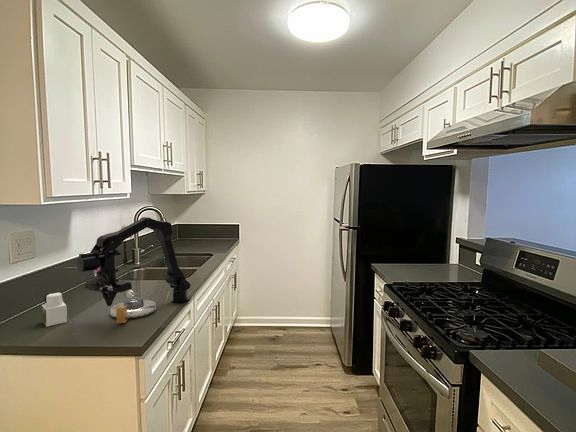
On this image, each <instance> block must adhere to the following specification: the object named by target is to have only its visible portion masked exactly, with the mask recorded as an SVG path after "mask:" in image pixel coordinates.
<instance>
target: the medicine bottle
mask: <svg viewBox="0 0 576 432" xmlns="http://www.w3.org/2000/svg"><path fill="white" fill-rule="evenodd" d="M63 295H64V294H63V292H61V291H51V292H47V293H46V294H45V295H44V297H43V298H44V304H41V315H42V323H43V325H44V326H45V327H47V328H48V327H51V326H56V325H59V324H60V325H61V324H64V323H67V322H68V309H67V304H66V303H65V302H64V299H63V297H64V296H63Z"/></svg>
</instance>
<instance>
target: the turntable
mask: <svg viewBox="0 0 576 432" xmlns="http://www.w3.org/2000/svg"><path fill="white" fill-rule="evenodd" d="M156 305H157V303H156V301H154V300H150V299H144V306H143V307H141V308H139V309H133V310H127V306H124V305H123V302H119V303H116V304H113V306H112V305H111V307H110V311H109V312H110V317H112V318H115V319H116V324H126V322H128V320H129V319H134V318H135V319H136V318H141V317H145V316H147V315H151V314H152V313H153V312H155V311H156V310H157V308H156V307H157V306H156Z"/></svg>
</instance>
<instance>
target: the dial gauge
mask: <svg viewBox="0 0 576 432" xmlns="http://www.w3.org/2000/svg"><path fill="white" fill-rule="evenodd" d="M126 297H127V298H131V297H139V293H137V292H136V293H135V292H134V291H133V290H132V289H129V290H126Z"/></svg>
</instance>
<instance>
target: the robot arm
mask: <svg viewBox="0 0 576 432" xmlns="http://www.w3.org/2000/svg"><path fill="white" fill-rule="evenodd" d="M145 229H149V230H152V231H153V234H154V235H155V237H156V238H157V239H158V241H159V242H160V245H161V249H162V252H163V257H164V260H165V264H166V267H167V272H166V273H164V278H165V282H166V283H167V284H168V285H169V286H170V289H172V291H173V293H172V300H170V302H171V303H177V304H184V303H186V302H188V301H190V300H191V298H188V290H190V288H191V286H192V285H191V283H190V282H189V281H188V280H187V279H186V276H185V274H184V272H183V271H182V269H180V267H179V264H178V260H177V255H176V252H175V248H174V245H173V241H172V238H173V234H174V232H173V225H172V223H171V222H169V221H163V220H157V219H153V218H152V217H145V216H142V217H141V218H140V219H138V220H136V221H134V222H132V223H131V224H129V225H127V226H125V227H123V228H121V229H119V230H116V231H114V232H109V233H105V234H103V235H100V236H99V237H97V239H96V241H95V242H96V243H95V245H94V246H93V248H92V249H91V250H90V252H89V253H79V254H78V257H77V262H76V268H77V271H78V272H79V273H85V272H91V271H94V270H97V269H98V268H99V267H100V270H99V271H97V275H96V276H95V275H94V276H93V277H91V278H90V279H87V280H86V281H85V284H84V285H85V288H87V289H88V291H93V292H98V293H100V294H102V295H101V296H103V299H104V301H105V303H106V306H107V307H110V306H111V307H112V304H113V303H114V300H115V298H116V296H117V294H118V293H123V292H127V291H128V290H132V288H133V287H132V286H133V285H132V282H130V281H126V280H122V281H119V280H120V279H119V278H117V272H119V268H117V266H116V265H117V264H116V256H121V252H120V251H118V250H117V248H119V247H120V246H121V245H122V244H123V242H124V241H126V240H127V239H129V238H130V237H132V236H134V235H136V234H138V233H140V232H142V231H143V230H145Z"/></svg>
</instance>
